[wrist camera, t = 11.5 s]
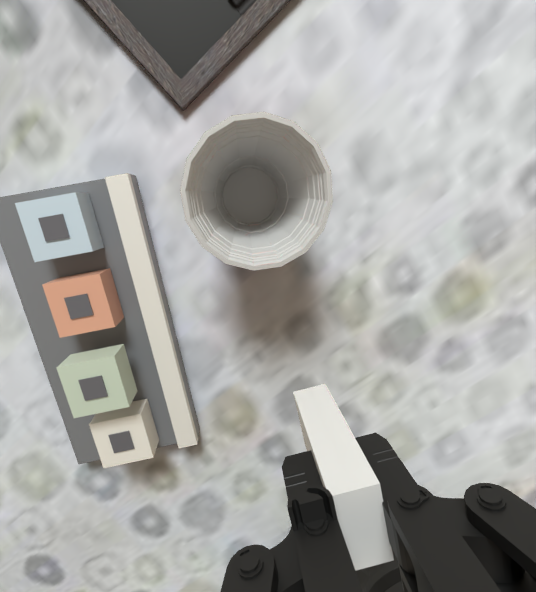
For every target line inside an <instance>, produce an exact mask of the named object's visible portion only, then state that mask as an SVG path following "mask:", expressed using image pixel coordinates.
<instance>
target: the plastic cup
mask: <svg viewBox="0 0 536 592" xmlns="http://www.w3.org/2000/svg"><path fill="white" fill-rule="evenodd" d="M180 193H181V198H182V204H183V209H184V214H185V220H186V222H187V224H188V225H189V227H190V229H191V230H192V232H193V233H194V235H195V236H196V238H197V240H198V241H199V243H200V244H201V246H202V247H203V248H204V249H206V250H207V251H209V252H210V253H211V254H213V255H214V256H216V257H217V258H218V259H220V260H221V261H223V262H224V263H225V264H228V265H232V266H237V267H241V268H245V269H249V270H253V271H255V270H261V269H268V268H275V267H282V266H283V265H285V264H287V263H288V262H290V261H292V260H294V259H295V258H297V257H299V256H301V255H302V254H304V253H306V252H307V250H308V249H309V248H310V247H311V245H312V244H313V243H314V242H315V240H316V239H317V238H318V237H319V235H320V234H321V233H322V232H323V230H324V228H325V225H326V222H327V219H328V215H329V212H330V209H331V206H332V203H333V195H332V179H331V170H330V168H329V166H328V163H327V161H326V159H325V157H324V155H323V153H322V151H321V149H320V147H319V144H318V143H317V142H316V141H315V140H314V139H313V138H312V137H311V136H310V135H309V134H307V133H306V132H305V131H304V130H303V129H302V128H301V127H300V126H299V125H297V124H296V123H295V122H294V121H291V120H288V119H285V118H282V117H279V116H276V115H273V114H269V113H266V112H258V113H249V114H240V115H232V116H231V117H229V118H227V119H226V120H224V121H222V122H221V123H219V124H217V125H216V126H214V127H213V128H211V129H209V130H208V131H206V132H205V133H204V134H203V136H202V137H201V139H200V140H199V141H198V143H197V144H196V146H195V147H194V149H193V150H192V152H191V153H190V154H189V156H188V157H187V159H186V164H185V168H184V173H183V178H182V183H181V188H180Z"/></svg>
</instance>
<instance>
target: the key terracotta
mask: <svg viewBox="0 0 536 592" xmlns="http://www.w3.org/2000/svg"><path fill="white" fill-rule="evenodd" d="M42 286H43V289H44V292H45V295H46V298H47V301H48V304H49V307H50V310H51V313H52V316H53V319H54V322H55V325H56V328H57V331H58V334H59V337H60V338H62V337H67V336H72V335H77V334H82V333H87V332H92V331H97V330H102V329H107V328H113V327H116V326H117V325H118V323H119V322H120V321H121V320H122V319H123V318H124V315H123V311H122V308H121V304H120V301H119V297H118V294H117V290H116V287H115V283H114V280H113V276H112V273H111V269H110V268H108V269H103V270H98V271H92V272H87V273H82V274H77V275H71V276H66V277H61V278H56V279H54V280H52V281H49V282H47V283H45V284H42Z"/></svg>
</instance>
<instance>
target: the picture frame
mask: <svg viewBox="0 0 536 592" xmlns="http://www.w3.org/2000/svg"><path fill="white" fill-rule="evenodd" d="M84 1H85V2H86V4H87V5H88V6H89V7H90V8H91V9H92V10H93V11H94V12H95V13H96V15H97V16H98V17H99V18H100V19H101V20H102V21H103V22H104V23H105V24H106V26H107V27H108V28H109V29H110V30H111V31H112V32H113V33H114V34H115V36H116V37H117V38H118V39H119V40H120V41H121V42H122V43H123V44H124V45H125V47H126V48H127V49H128V50H129V51H130V52H131V53H132V54H133V55H134V56H135V58H136V59H137V60H138V61H139V62H140V63H141V64H142V65H143V66H144V68H145V69H146V70H147V71H148V72H149V73H150V74H151V75H152V76H153V77H154V79H155V80H156V81H157V82H158V83H159V84H160V85H161V86H162V87H163V89H164V90H165V91H166V92H167V93H168V94H169V95H170V96H171V97H172V98H173V100H174V101H175V102H176V103H177V104H178V105H179V106H180V107H181V108H182V109H183V110H184V109H185V108H186V107H187V106H188V105H189V104H190V103H191V102H192V101H193V100H194V99H195V98H196V97H197V96H198V95H199V94H200V93H201V92H202V91H203V90H204V89H205V88H206V87H207V86H208V85H209V84H210V83H211V82H212V81H213V80H214V79H215V78H216V77H217V75H218V74H219V73H220V72H221V71H222V70H223V69H224V68H225V67H226V66H227V65H228V64H229V63H230V62H231V61H232V60H233V59H234V58H235V57H236V56H237V55H238V54H239V53H240V52H241V51H242V50H243V49H244V48H245V47H246V46H247V45H248V44H249V43H250V42H251V40H252V39H253V38H254V37H255V36H256V35H257V34H258V33H259V32H260V31H261V30H262V29H263V28H264V27H265V26H266V25H267V24H268V23H269V22H270V21H271V20H272V19H273V18H274V17H275V16H276V15H277V14H278V13H279V12H280V11H281V10H282V9H283V8H284V7H285V5H286V4H287V3H288V2H289V1H290V0H84Z"/></svg>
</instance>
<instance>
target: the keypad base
mask: <svg viewBox="0 0 536 592" xmlns="http://www.w3.org/2000/svg"><path fill="white" fill-rule="evenodd" d="M74 192H79V193H89V196H90V200H91V203H92V207H93V210H94V214H95V217H96V221H97V224H98V228H99V231H100V235H101V238H102V242H103V245H104V248H101V249H98V250H95V251H92V252H87V253H81V254H76V255H71V256H65V257H60V258H55V259H49V260H44V261H39V262H34V259H33V256H32V253H31V250H30V247H29V244H28V241H27V238H26V235H25V232H24V229H23V226H22V223H21V220H20V217H19V214H18V211H17V208H16V205H15V203H18V202H24V201H30V200H35V199H41V198H46V197H52V196H57V195H63V194H69V193H74ZM0 243H1V246H2V248H3V251H4V254H5V257H6V260H7V263H8V265H9V268H10V271H11V274H12V277H13V280H14V282H15V285H16V288H17V291H18V294H19V297H20V299H21V302H22V305H23V308H24V311H25V314H26V316H27V319H28V322H29V325H30V328H31V331H32V333H33V336H34V339H35V342H36V345H37V348H38V350H39V353H40V356H41V359H42V362H43V365H44V367H45V370H46V373H47V376H48V379H49V382H50V384H51V387H52V390H53V393H54V396H55V399H56V401H57V404H58V407H59V410H60V413H61V416H62V418H63V421H64V424H65V427H66V430H67V433H68V435H69V438H70V441H71V444H72V447H73V450H74V452H75V455H76V458H77V461H78V464H82V463H87V462H92V461H96V460H101V459H100V456H99V453H98V450H97V447H96V444H95V441H94V438H93V435H92V432H91V429H90V426H89V424H90V422H91V421H92V419H93V417H94V416H95V414H93V415H88V416H83V417H78V418H73V415H72V412H71V409H70V406H69V403H68V400H67V397H66V394H65V392H64V389H63V386H62V383H61V380H60V377H59V374H58V371H57V368H56V367H58V366H59V365H60V364H61V363H62V362H63V361H64V360H65V359H66V358H67V357H68V356H69V355H70V354H75V353H80V352H85V351H90V350H95V349H100V348H105V347H110V346H115V345H120V344H124V346H125V350H126V353H127V357H128V360H129V364H130V367H131V370H132V374H133V377H134V381H135V384H136V388H137V393H136V395H135V397H134V399H133V401H138V400H143V399H148V402H149V406H150V409H151V413H152V416H153V420H154V423H155V427H156V430H157V434H158V437H159V442H158V445H157V448H158V447H162V446H167V445H172V444H178V448H183V447H188V446H193V445H197V443H198V436H199V430H200V428H199V424H198V420H197V416H196V412H195V408H194V404H193V400H192V396H191V392H190V388H189V384H188V381H187V377H186V373H185V369H184V365H183V361H182V357H181V353H180V349H179V345H178V341H177V337H176V333H175V329H174V325H173V321H172V317H171V313H170V309H169V305H168V302H167V298H166V294H165V290H164V286H163V282H162V278H161V274H160V270H159V266H158V262H157V258H156V254H155V250H154V246H153V242H152V238H151V234H150V230H149V226H148V223H147V219H146V215H145V211H144V207H143V203H142V199H141V195H140V191H139V187H138V183H137V179H136V176H135V175H131V174H128V173H126V174H121V175H115V176H109V177H105V179H100V180H95V181H89V182H83V183H78V184H72V185H67V186H61V187H55V188H50V189H44V190H39V191H33V192H27V193H22V194H16V195H11V196H5V197H0ZM108 268H110V269H111V273H112V276H113V280H114V283H115V287H116V290H117V294H118V297H119V301H120V304H121V308H122V311H123V315H124V318H123V319H122V320H121V321H120V322H119V323H118V325H117V326H116V327H113V328H107V329H102V330H97V331H92V332H87V333H82V334H77V335H72V336H67V337H62V338H60V337H59V334H58V331H57V328H56V325H55V322H54V319H53V316H52V313H51V310H50V307H49V304H48V301H47V298H46V295H45V292H44V289H43V286H42V284H45V283H47V282H49V281H52V280H54V279H56V278H61V277H66V276H71V275H77V274H82V273H87V272H92V271H98V270H103V269H108ZM133 401H132V402H133Z"/></svg>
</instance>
